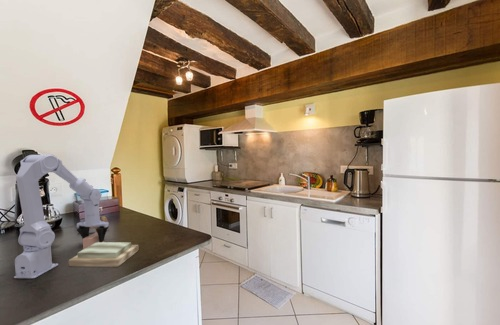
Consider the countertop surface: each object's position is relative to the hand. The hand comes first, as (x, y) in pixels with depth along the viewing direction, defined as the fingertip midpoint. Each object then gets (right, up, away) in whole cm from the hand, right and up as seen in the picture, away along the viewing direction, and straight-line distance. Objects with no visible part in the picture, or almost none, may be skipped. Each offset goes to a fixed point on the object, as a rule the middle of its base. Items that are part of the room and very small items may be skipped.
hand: (94, 241), depth 105 cm
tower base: (+14, -2, -13) cm, 19 cm away
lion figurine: (-12, -2, +17) cm, 20 cm away
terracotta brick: (0, -2, 0) cm, 2 cm away
